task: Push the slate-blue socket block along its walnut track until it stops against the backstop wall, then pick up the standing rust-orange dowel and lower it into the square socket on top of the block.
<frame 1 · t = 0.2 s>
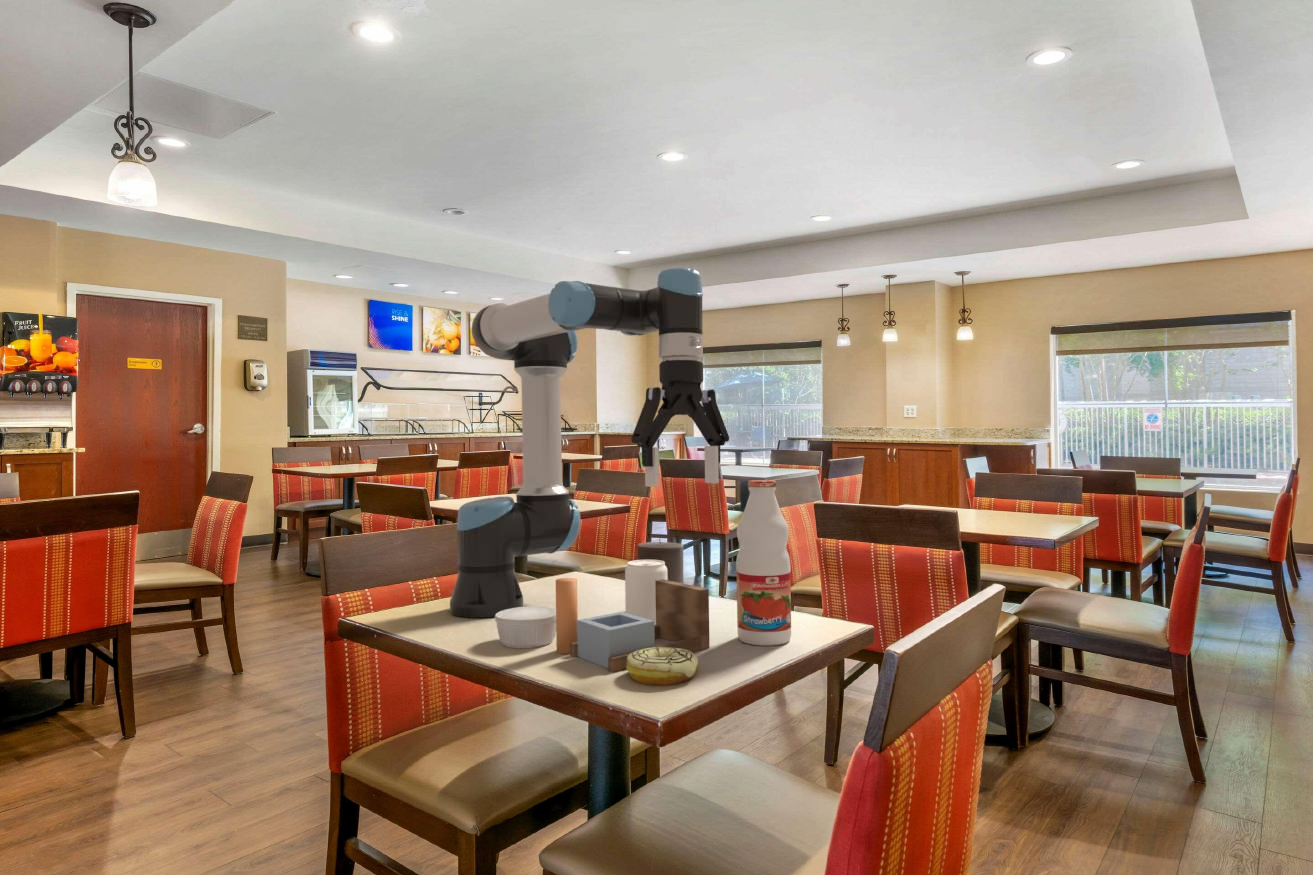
hand: (682, 484, 130), 28 cm above the table, tool pointing down, fingers open, 13 cm apart
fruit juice: (764, 640, 133), on the table
ramekin: (527, 643, 134), on the table
dowel: (567, 650, 128), on the table
beverage can: (646, 626, 145), on the table
pillar candle: (661, 611, 157), on the table
decorated donut: (662, 678, 114), on the table
track with backstop wall: (616, 657, 124), on the table
socket block: (615, 638, 124), point 3 cm above the table, slide at 0.0 cm
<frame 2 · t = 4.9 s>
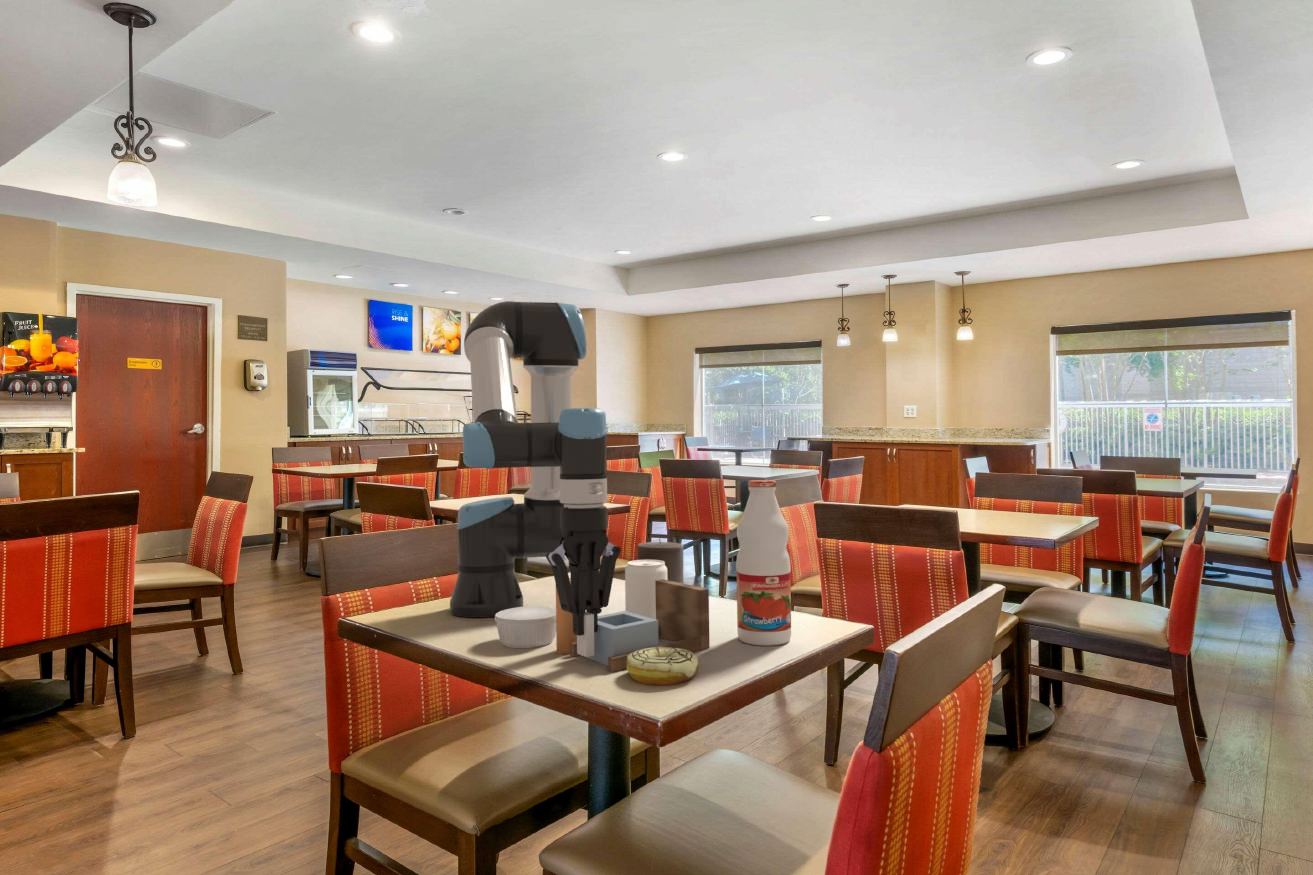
hand: (585, 654, 120), 2 cm above the table, tool pointing down, fingers closed
socket block: (619, 637, 124), point 3 cm above the table, slide at 0.8 cm, touching gripper
everything else where it was.
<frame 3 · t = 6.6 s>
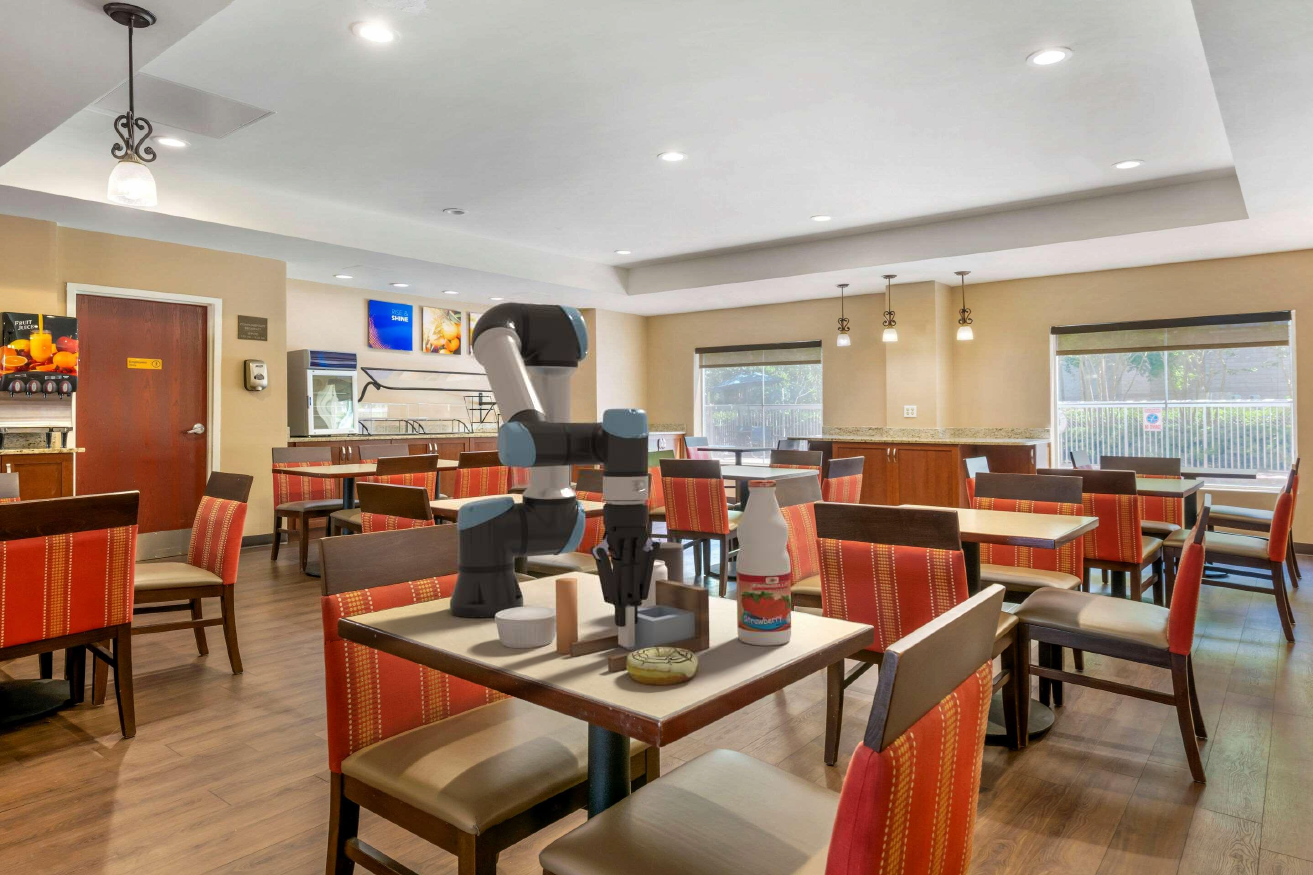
hand: (626, 644, 125), 2 cm above the table, tool pointing down, fingers closed
socket block: (657, 629, 129), point 3 cm above the table, slide at 8.8 cm, touching gripper
everything else where it was.
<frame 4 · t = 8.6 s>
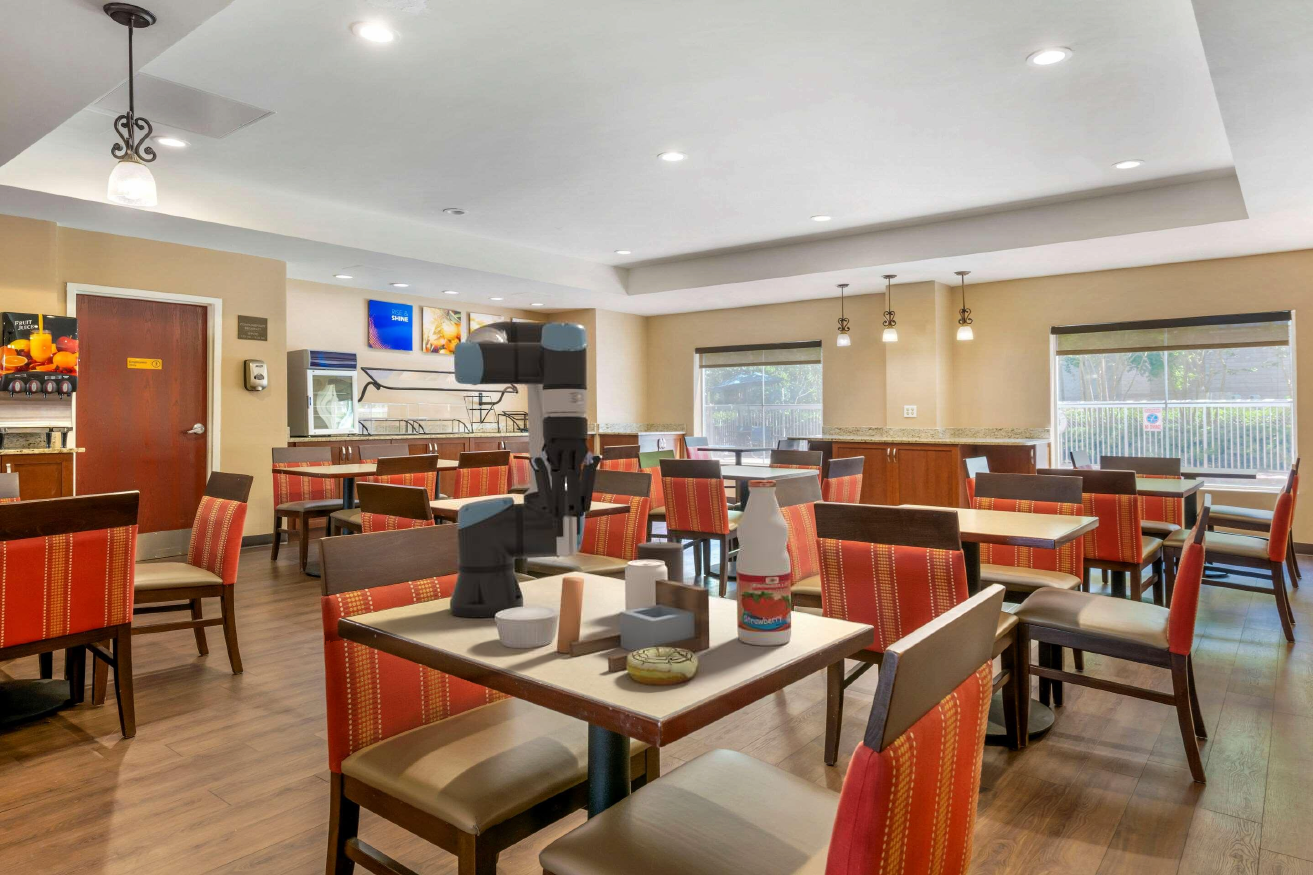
hand: (566, 555, 128), 16 cm above the table, tool pointing down, fingers closed
dowel: (567, 649, 128), on the table, tilted 6°
socket block: (657, 629, 129), point 3 cm above the table, slide at 8.7 cm
everything else where it was.
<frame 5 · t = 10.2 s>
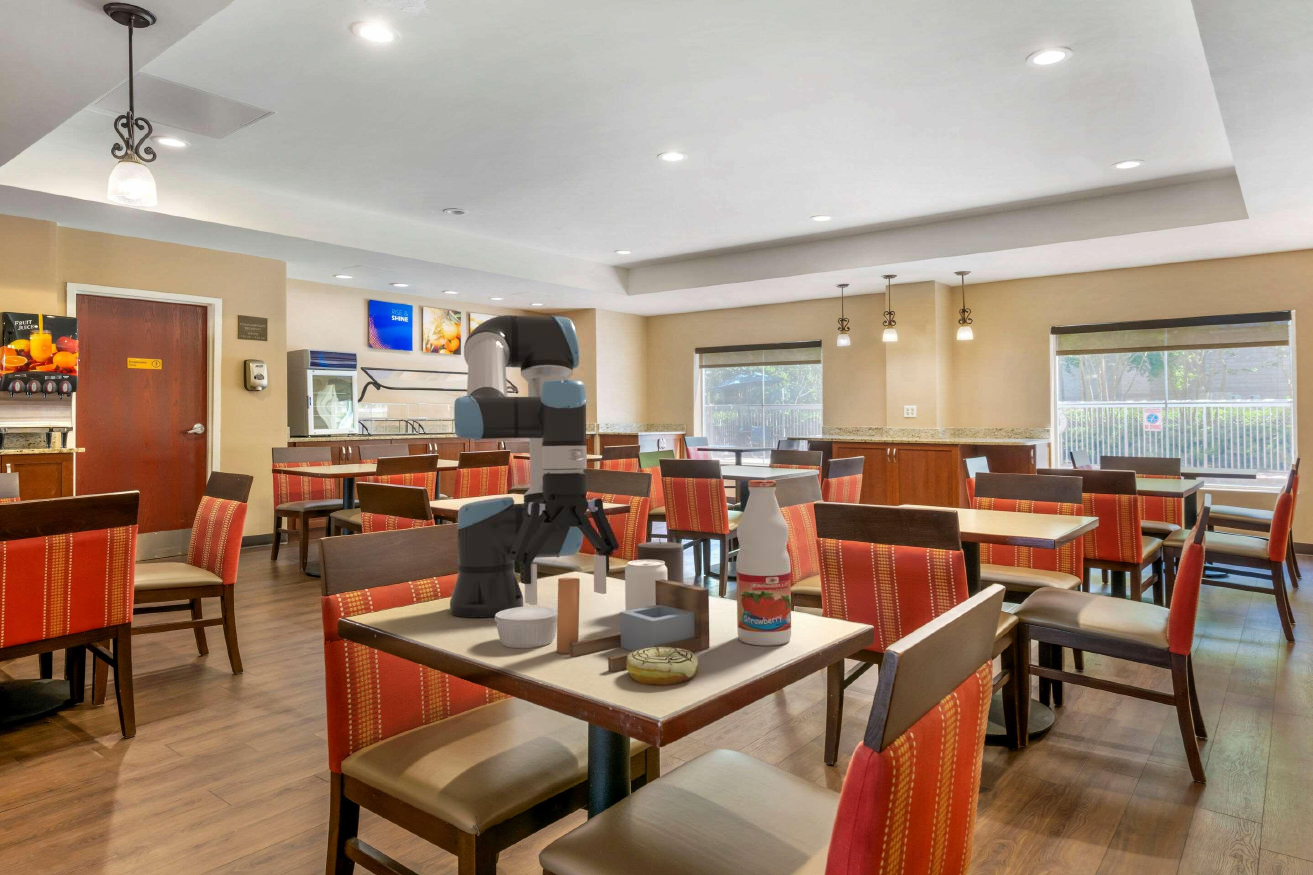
hand: (566, 598, 127), 9 cm above the table, tool pointing down, fingers open, 13 cm apart
nothing on the table moved.
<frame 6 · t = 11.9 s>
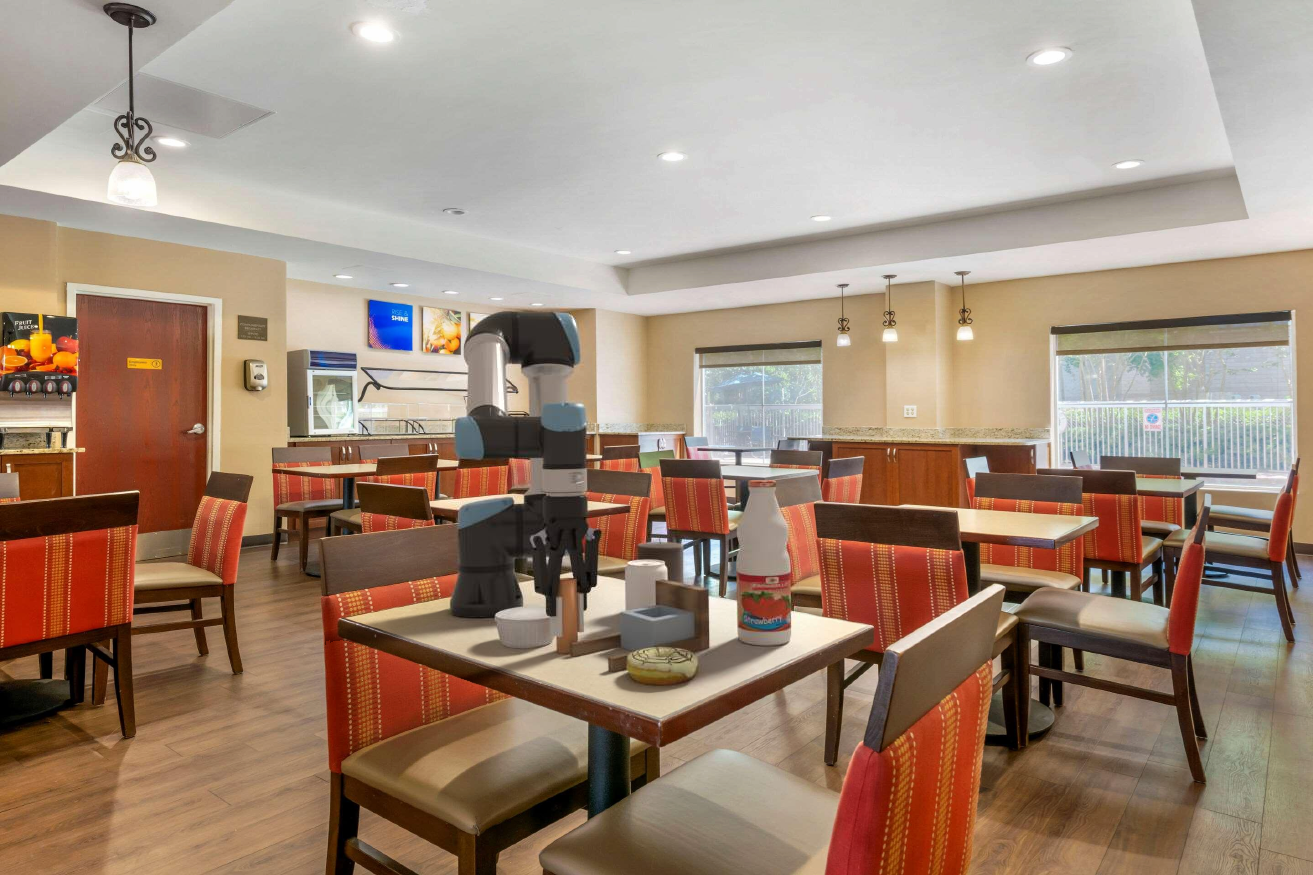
hand: (567, 632, 128), 3 cm above the table, tool pointing down, fingers closed on dowel, 3 cm apart
dowel: (567, 650, 128), on the table, touching gripper
everything else where it was.
when the fingers open (7 cm above the table, at t = 17.1 s): dowel drops 2 cm, resting on socket block.
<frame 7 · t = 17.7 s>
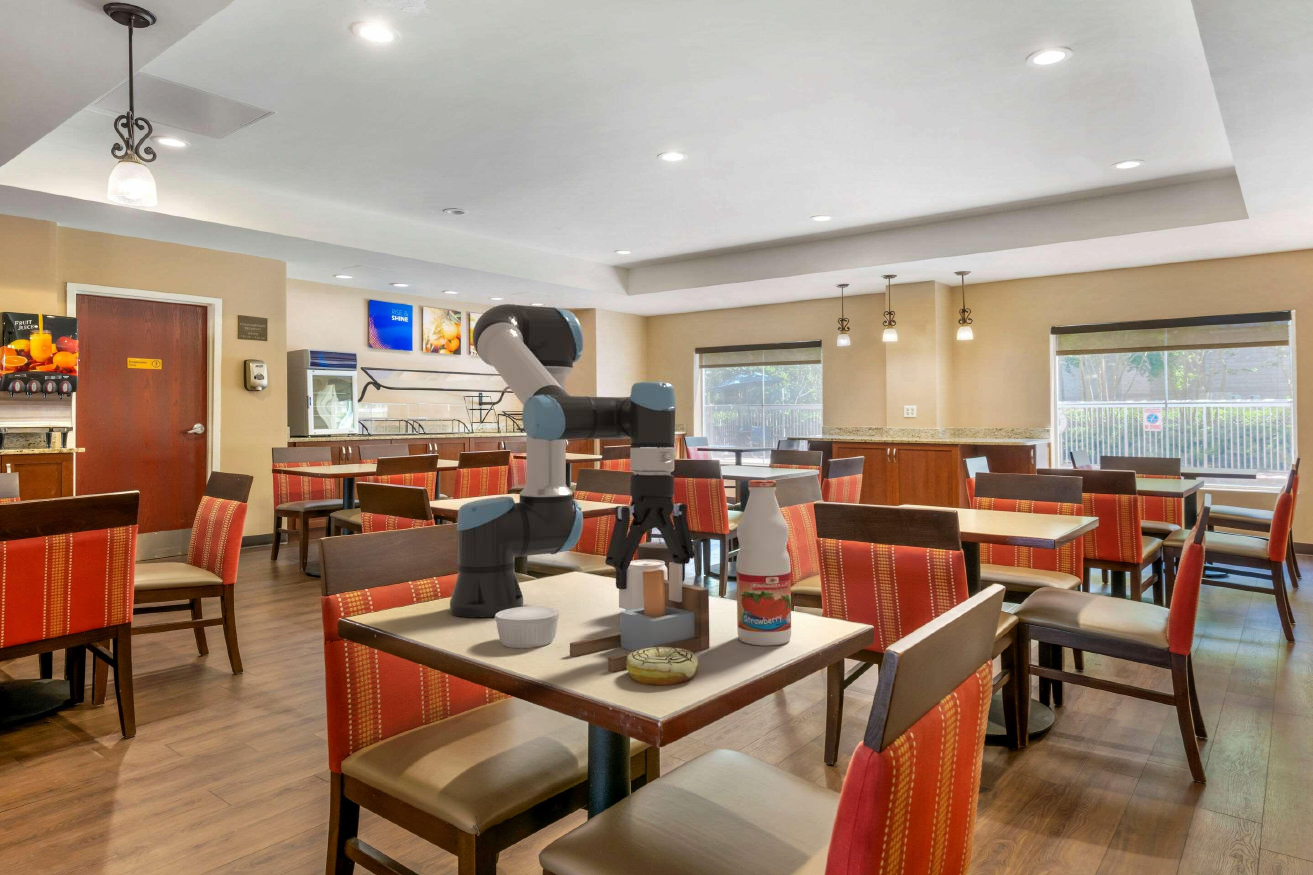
hand: (651, 604, 129), 7 cm above the table, tool pointing down, fingers open, 10 cm apart
dowel: (656, 641, 129), point 1 cm above the table, touching socket block
socket block: (657, 629, 129), point 3 cm above the table, slide at 8.7 cm, touching dowel
everything else where it was.
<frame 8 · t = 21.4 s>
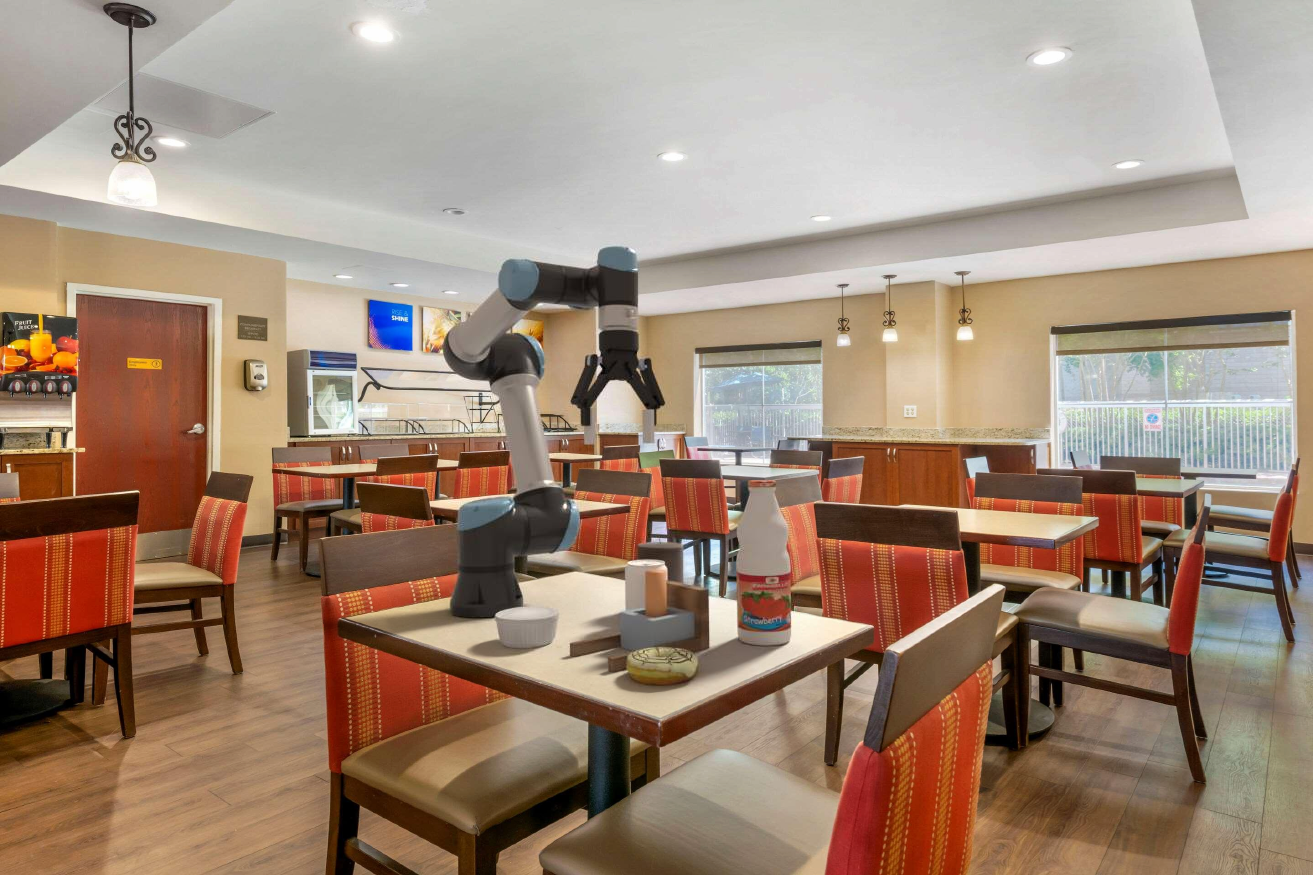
hand: (620, 444, 143), 35 cm above the table, tool pointing down, fingers open, 13 cm apart
nothing on the table moved.
at the end: socket block slide at 8.7 cm; dowel 0.3 cm off-centre on the socket block, point 1.0 cm above the socket block's base; dowel tilted 1° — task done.
